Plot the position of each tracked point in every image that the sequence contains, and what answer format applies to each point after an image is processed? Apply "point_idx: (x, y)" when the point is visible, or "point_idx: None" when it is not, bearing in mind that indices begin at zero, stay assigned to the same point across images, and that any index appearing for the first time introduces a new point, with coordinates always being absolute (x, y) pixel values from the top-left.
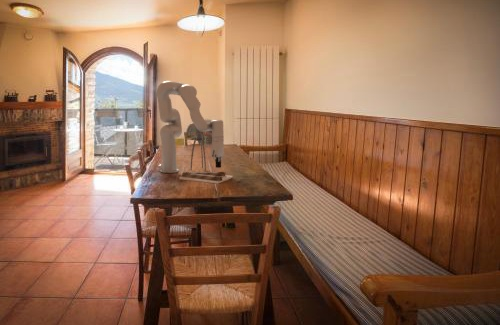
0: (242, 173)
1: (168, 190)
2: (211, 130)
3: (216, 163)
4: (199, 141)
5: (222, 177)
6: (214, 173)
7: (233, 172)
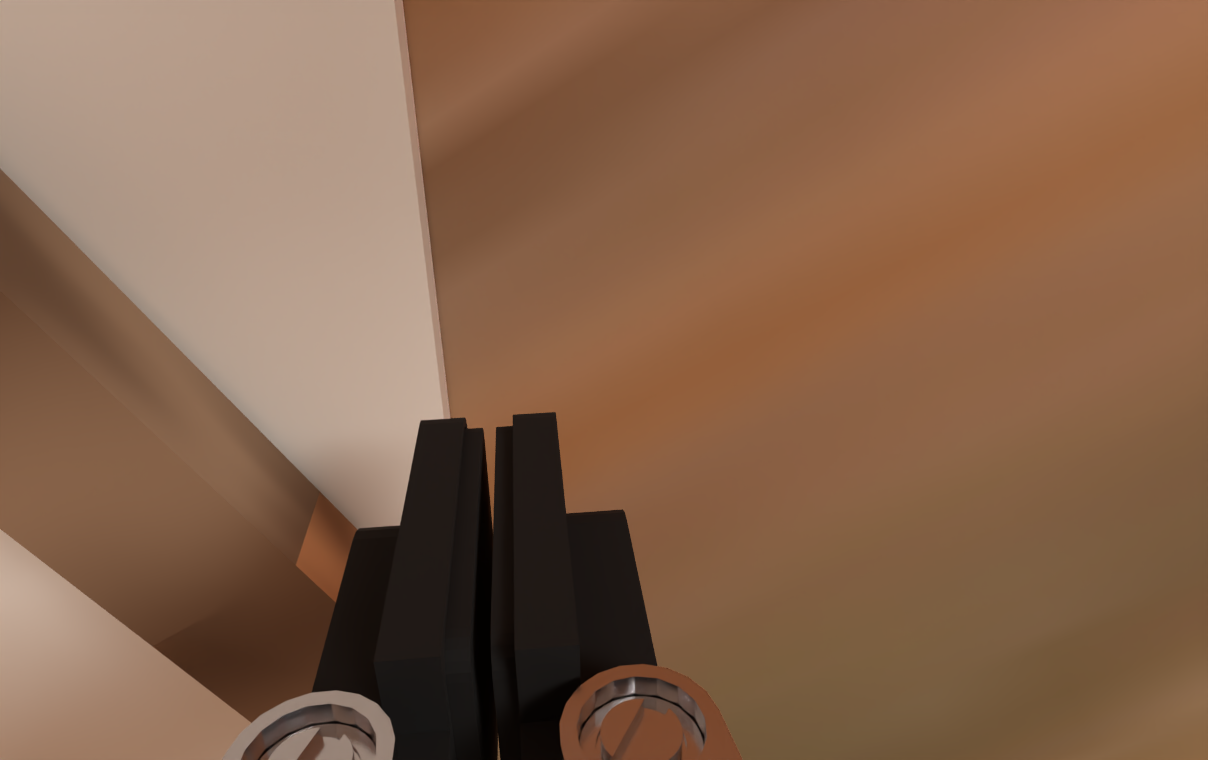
0: (1059, 677)
1: None
2: None
3: (335, 654)
4: None
5: (120, 705)
6: (23, 515)
7: (1146, 459)
